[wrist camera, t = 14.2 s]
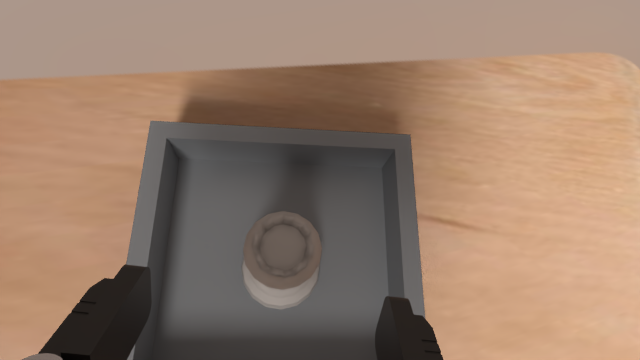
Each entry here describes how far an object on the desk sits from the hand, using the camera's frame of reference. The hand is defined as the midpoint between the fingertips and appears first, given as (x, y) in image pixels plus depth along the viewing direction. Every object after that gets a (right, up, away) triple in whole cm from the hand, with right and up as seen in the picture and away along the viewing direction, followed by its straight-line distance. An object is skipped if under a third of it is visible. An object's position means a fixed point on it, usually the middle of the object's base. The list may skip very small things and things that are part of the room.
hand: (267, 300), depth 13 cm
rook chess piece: (0, -1, +10) cm, 10 cm away
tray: (-1, -1, +11) cm, 11 cm away
